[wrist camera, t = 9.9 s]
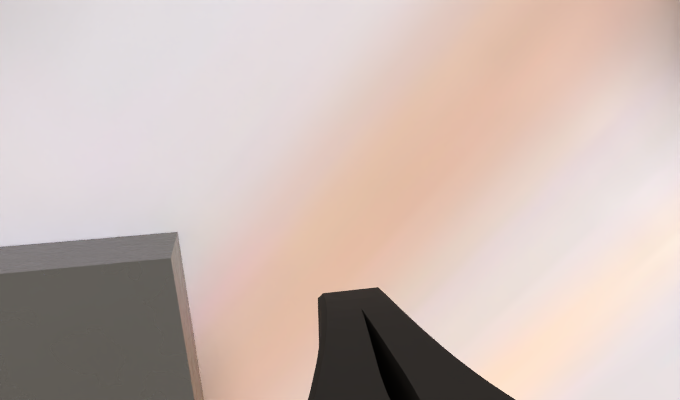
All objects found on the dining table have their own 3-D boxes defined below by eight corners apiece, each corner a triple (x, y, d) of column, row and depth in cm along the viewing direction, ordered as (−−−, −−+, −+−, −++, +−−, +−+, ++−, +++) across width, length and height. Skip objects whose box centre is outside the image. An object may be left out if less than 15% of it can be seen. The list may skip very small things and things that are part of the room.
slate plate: (206, 418, 23) (203, 454, 21) (-77, 459, 21) (-107, 503, 19) (177, 232, 19) (170, 258, 17) (-177, 262, 17) (-226, 294, 15)
